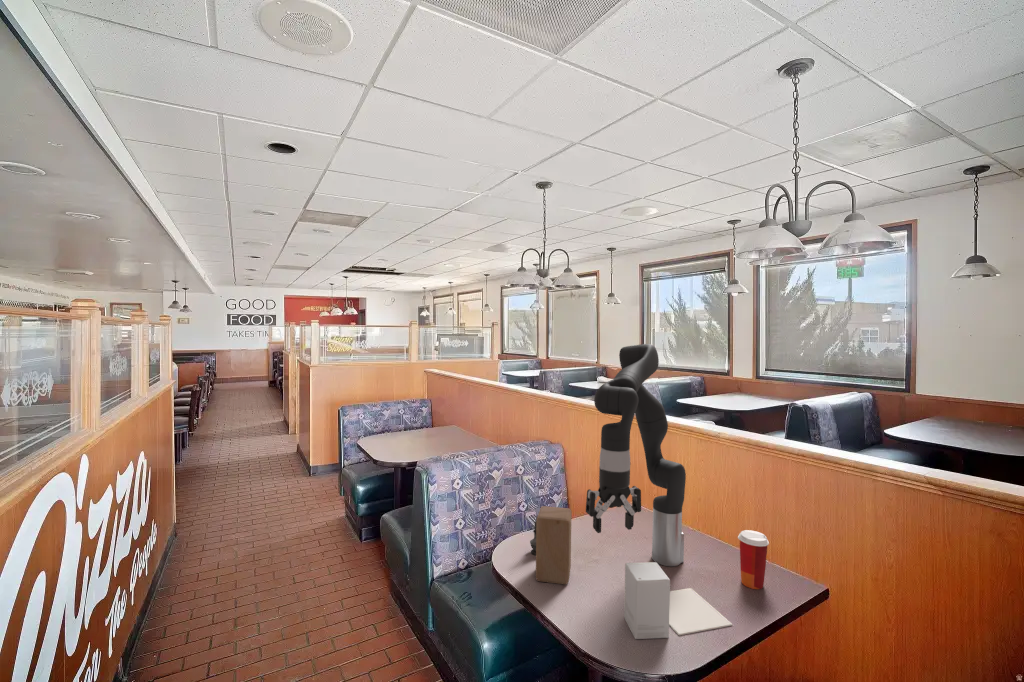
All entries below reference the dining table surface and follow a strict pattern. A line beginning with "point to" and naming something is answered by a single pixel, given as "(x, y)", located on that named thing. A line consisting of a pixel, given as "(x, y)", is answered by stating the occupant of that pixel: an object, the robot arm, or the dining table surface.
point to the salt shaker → (534, 542)
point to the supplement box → (647, 600)
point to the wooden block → (553, 545)
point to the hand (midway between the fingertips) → (613, 530)
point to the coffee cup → (753, 558)
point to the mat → (693, 613)
